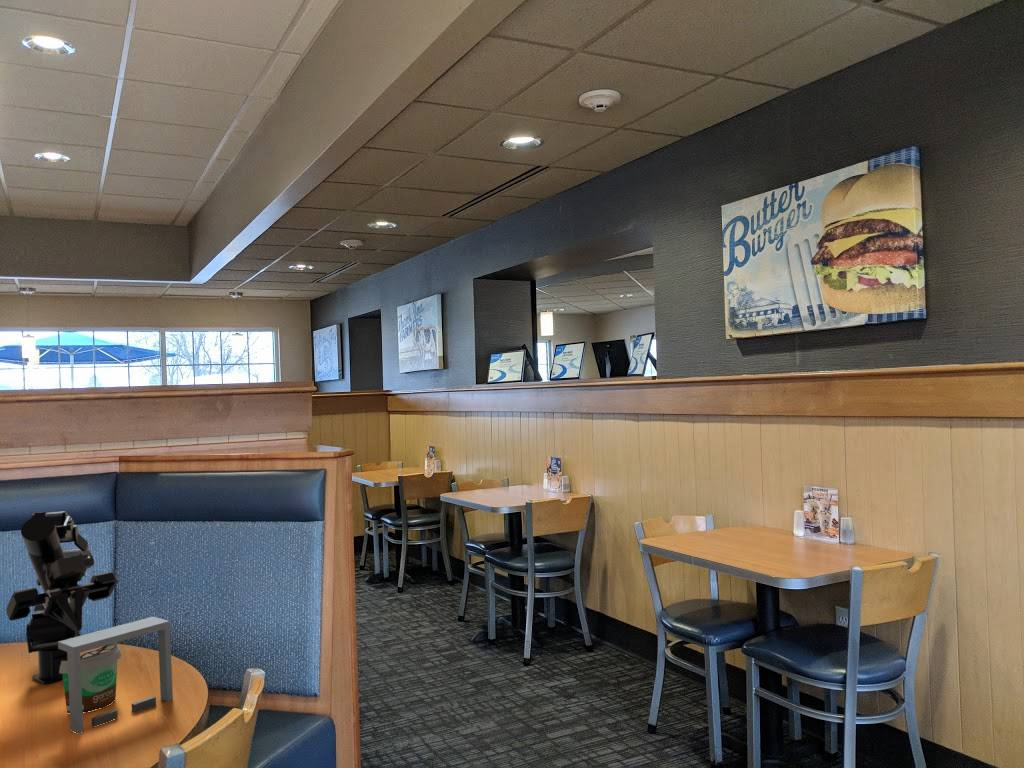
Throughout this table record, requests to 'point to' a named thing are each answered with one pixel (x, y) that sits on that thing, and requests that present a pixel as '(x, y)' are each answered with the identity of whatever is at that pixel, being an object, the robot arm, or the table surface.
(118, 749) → the table surface
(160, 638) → the overhang shelf
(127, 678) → the table surface
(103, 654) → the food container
